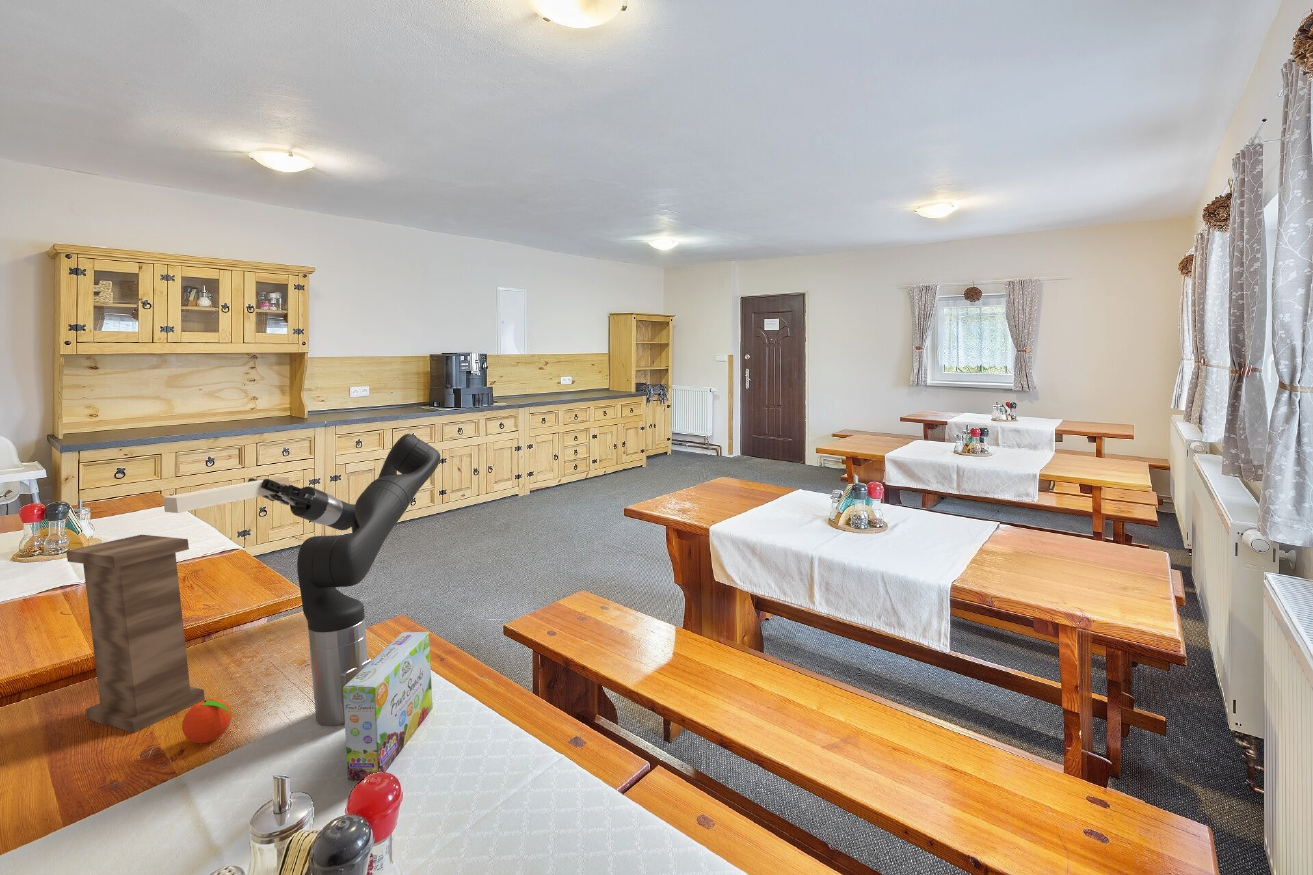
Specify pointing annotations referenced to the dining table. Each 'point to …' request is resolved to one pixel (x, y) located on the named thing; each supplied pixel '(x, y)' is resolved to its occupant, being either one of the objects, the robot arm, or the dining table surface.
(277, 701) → the dining table surface
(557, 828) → the dining table surface
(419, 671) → the snack box
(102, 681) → the walnut pedestal
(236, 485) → the cream wooden bar
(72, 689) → the dining table surface
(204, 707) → the clementine
